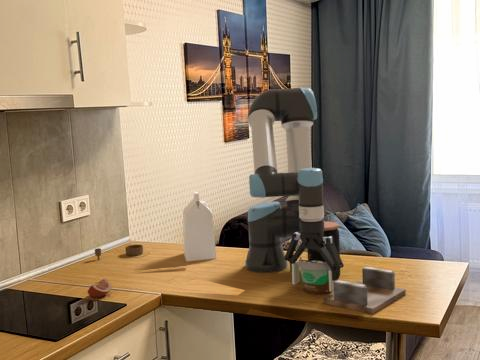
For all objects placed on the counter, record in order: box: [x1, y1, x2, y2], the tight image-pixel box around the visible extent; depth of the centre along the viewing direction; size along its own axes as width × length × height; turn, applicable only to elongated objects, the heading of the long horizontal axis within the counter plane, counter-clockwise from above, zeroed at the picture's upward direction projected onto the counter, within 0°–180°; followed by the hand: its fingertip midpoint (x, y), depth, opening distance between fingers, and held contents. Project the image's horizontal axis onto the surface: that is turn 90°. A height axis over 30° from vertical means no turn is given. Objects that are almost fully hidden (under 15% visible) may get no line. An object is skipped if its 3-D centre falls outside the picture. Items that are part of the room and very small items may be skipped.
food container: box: [298, 256, 332, 296], centre depth 180 cm, size 12×6×10 cm, turn 59°
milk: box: [182, 191, 217, 262], centre depth 228 cm, size 12×12×26 cm
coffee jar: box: [306, 220, 341, 278], centre depth 195 cm, size 11×11×18 cm
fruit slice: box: [87, 278, 112, 298], centre depth 187 cm, size 8×7×5 cm
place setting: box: [94, 244, 149, 261], centre depth 236 cm, size 18×20×6 cm
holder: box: [322, 266, 407, 315], centre depth 172 cm, size 16×20×7 cm
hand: (313, 286), depth 181 cm, fingers open, 13 cm apart
